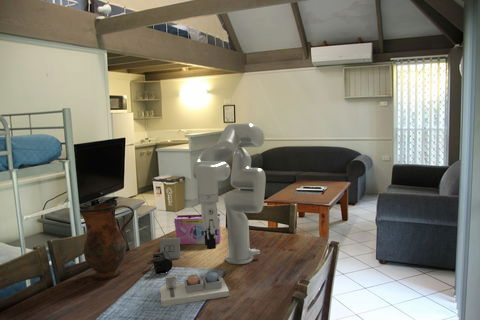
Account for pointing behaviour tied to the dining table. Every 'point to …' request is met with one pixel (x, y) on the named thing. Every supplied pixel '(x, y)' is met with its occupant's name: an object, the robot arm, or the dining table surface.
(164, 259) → the end cap
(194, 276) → the button terracotta
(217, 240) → the gum box
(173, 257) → the electrical switch
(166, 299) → the switch panel
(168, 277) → the paddle
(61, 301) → the dining table surface
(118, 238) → the pitcher
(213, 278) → the button blue
